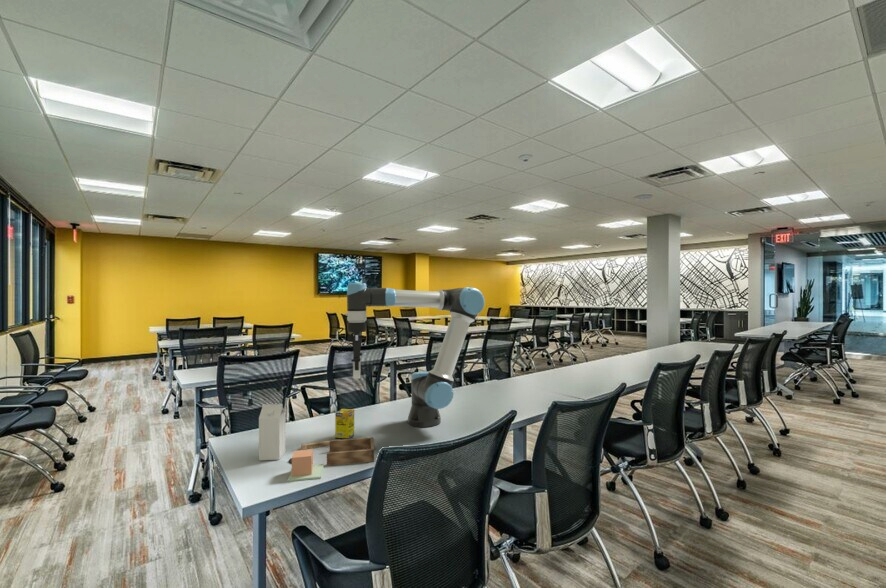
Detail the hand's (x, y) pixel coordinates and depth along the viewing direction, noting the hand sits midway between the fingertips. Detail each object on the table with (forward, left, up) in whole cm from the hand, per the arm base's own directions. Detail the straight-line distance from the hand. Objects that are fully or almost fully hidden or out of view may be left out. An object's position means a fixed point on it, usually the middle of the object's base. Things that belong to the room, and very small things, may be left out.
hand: (357, 375), depth 160 cm
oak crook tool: (+13, +3, -27) cm, 30 cm away
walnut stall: (+2, +14, -27) cm, 30 cm away
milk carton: (+30, +8, -27) cm, 41 cm away
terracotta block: (+17, +25, -26) cm, 40 cm away
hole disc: (+20, +14, -27) cm, 36 cm away
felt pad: (+16, +25, -27) cm, 40 cm away
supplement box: (+5, -7, -27) cm, 28 cm away
